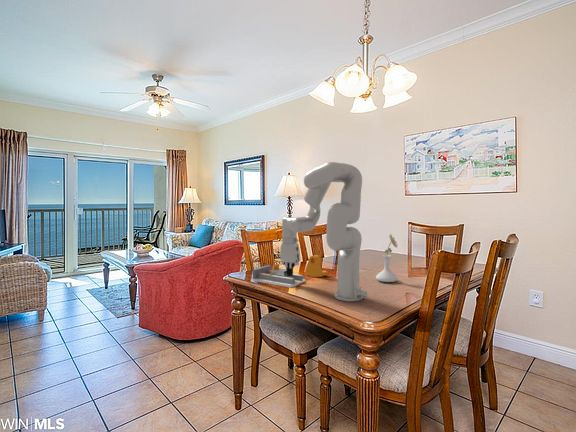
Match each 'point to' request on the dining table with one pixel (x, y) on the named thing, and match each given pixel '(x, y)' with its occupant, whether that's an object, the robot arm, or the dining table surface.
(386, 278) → the flower in vase
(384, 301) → the dining table surface
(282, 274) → the gauge carriage
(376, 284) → the dining table surface
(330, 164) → the robot arm
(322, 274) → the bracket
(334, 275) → the dining table surface
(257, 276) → the scale board
